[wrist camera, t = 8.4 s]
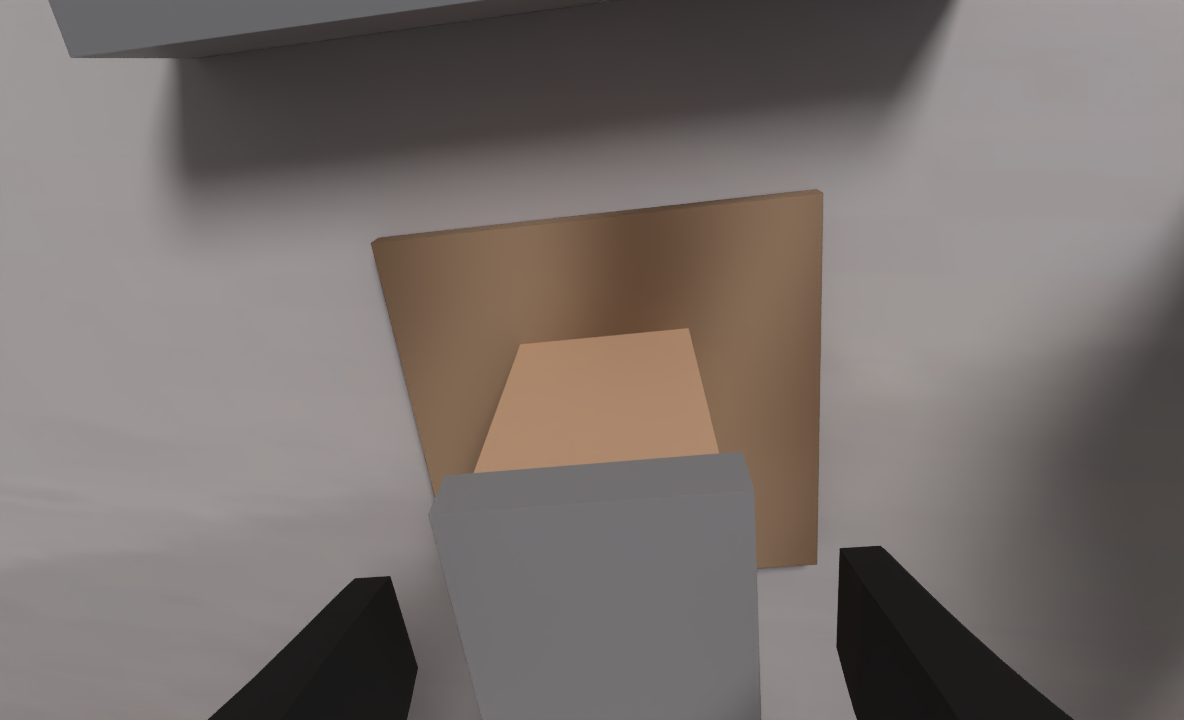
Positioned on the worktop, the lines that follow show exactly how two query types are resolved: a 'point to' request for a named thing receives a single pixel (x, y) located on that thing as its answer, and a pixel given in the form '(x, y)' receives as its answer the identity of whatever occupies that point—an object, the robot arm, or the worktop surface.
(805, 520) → the walnut pad
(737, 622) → the plug
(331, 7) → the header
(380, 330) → the worktop surface
